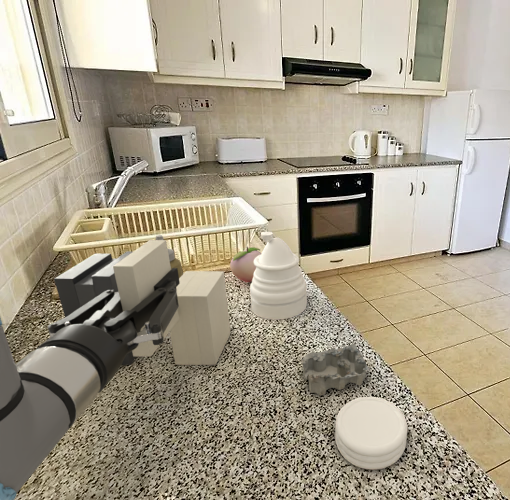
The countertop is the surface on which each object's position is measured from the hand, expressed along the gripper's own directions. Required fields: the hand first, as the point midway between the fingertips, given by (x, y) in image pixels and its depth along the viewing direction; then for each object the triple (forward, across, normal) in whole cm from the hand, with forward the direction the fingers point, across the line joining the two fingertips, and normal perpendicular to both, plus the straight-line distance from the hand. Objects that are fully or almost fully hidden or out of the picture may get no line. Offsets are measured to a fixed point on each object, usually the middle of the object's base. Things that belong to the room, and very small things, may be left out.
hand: (165, 275), depth 60 cm
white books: (+6, +2, -18) cm, 19 cm away
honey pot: (+22, +14, -18) cm, 32 cm away
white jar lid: (-15, +32, -18) cm, 40 cm away
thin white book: (-5, 0, -8) cm, 9 cm away
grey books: (+6, -14, -18) cm, 23 cm away
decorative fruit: (+34, +5, -18) cm, 39 cm away
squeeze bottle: (+19, -10, -18) cm, 28 cm away
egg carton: (-2, +27, -18) cm, 33 cm away
